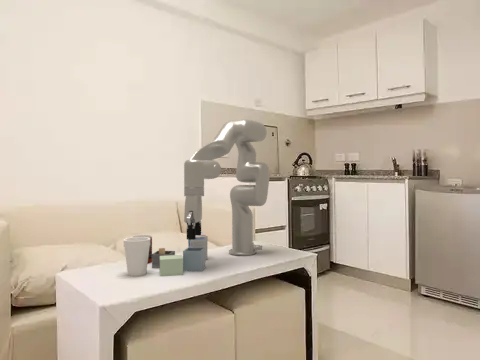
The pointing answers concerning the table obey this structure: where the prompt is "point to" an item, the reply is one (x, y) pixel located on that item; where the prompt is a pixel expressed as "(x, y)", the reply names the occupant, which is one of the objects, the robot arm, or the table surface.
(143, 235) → the canned food
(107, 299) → the table surface
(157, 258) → the metal tin
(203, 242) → the light bulb box
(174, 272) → the pale green block
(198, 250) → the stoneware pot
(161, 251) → the wooden dowel
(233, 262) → the table surface
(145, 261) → the foam cup
